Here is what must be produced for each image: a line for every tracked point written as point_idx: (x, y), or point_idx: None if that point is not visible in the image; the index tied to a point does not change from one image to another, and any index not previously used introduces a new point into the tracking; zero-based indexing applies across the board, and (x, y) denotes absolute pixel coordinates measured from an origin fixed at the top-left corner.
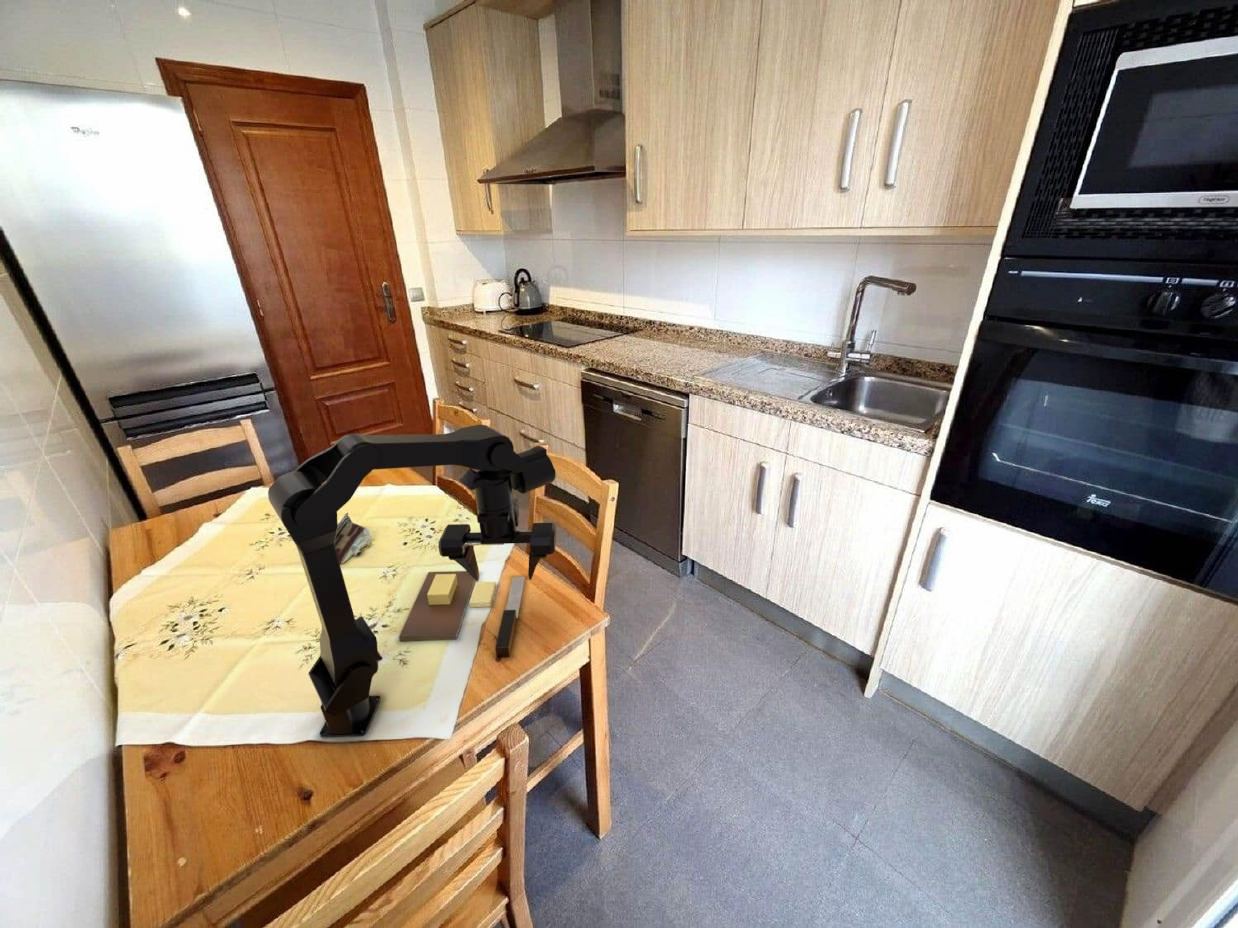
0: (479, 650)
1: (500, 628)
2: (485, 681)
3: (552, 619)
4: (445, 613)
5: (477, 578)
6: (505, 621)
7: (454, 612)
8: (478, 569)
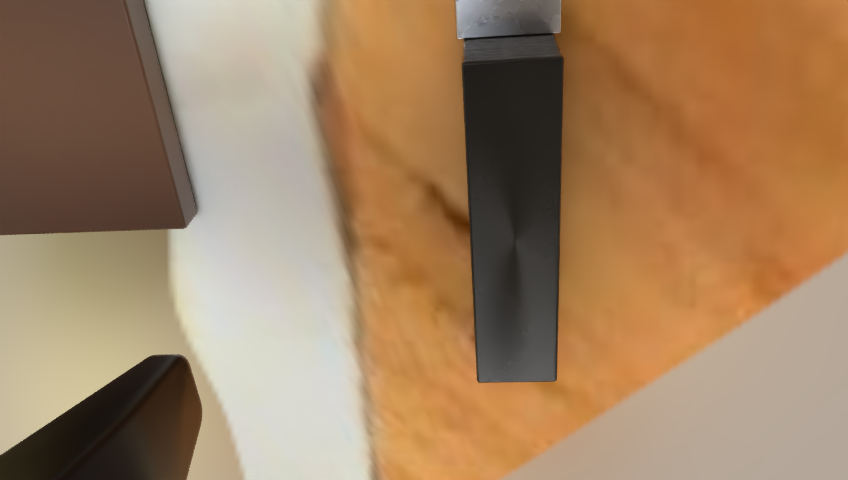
0: (366, 285)
1: (477, 247)
2: (453, 444)
3: (839, 24)
4: (3, 34)
5: (188, 464)
6: (501, 185)
7: (63, 19)
8: (125, 424)
